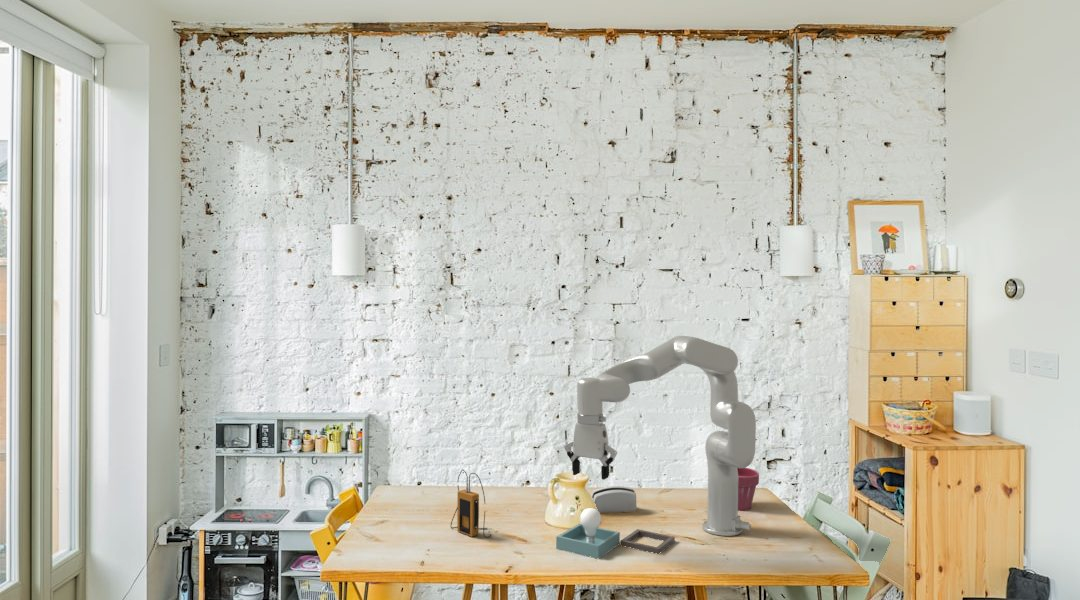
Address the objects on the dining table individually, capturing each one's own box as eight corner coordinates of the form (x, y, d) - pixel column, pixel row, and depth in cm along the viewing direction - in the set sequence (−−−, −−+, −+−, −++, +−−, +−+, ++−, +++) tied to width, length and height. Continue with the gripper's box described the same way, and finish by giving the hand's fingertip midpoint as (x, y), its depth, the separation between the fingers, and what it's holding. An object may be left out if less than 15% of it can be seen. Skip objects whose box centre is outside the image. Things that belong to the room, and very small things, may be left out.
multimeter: (503, 532, 224) (504, 469, 223) (480, 540, 216) (480, 475, 216) (472, 521, 234) (473, 461, 233) (449, 529, 226) (449, 466, 226)
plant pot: (766, 511, 247) (766, 475, 247) (729, 514, 244) (730, 477, 244) (745, 499, 261) (745, 465, 261) (710, 501, 258) (710, 466, 258)
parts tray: (619, 543, 215) (619, 532, 215) (598, 558, 203) (598, 546, 203) (579, 534, 222) (579, 523, 222) (556, 548, 210) (556, 536, 210)
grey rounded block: (632, 506, 252) (636, 482, 248) (636, 514, 248) (640, 490, 244) (586, 508, 249) (589, 484, 245) (590, 517, 245) (593, 492, 241)
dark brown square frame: (674, 541, 217) (674, 536, 217) (658, 554, 207) (658, 549, 207) (637, 533, 224) (637, 529, 224) (620, 545, 213) (620, 540, 213)
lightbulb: (599, 549, 208) (600, 512, 208) (578, 547, 210) (578, 510, 210) (602, 541, 215) (602, 505, 214) (581, 540, 216) (581, 504, 216)
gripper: (621, 420, 210) (622, 477, 211) (571, 414, 220) (571, 469, 220) (610, 424, 204) (610, 483, 204) (558, 418, 213) (559, 475, 214)
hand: (590, 476), depth 212 cm, fingers open, 9 cm apart
